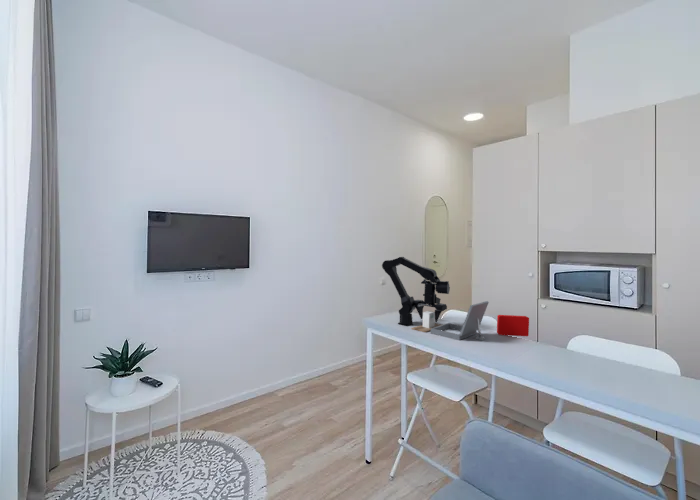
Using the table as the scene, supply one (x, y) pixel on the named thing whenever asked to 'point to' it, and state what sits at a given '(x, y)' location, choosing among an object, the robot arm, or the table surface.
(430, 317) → the block
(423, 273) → the robot arm
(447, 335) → the case
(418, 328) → the walnut board
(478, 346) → the table surface
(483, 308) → the case lid
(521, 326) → the red flat block
